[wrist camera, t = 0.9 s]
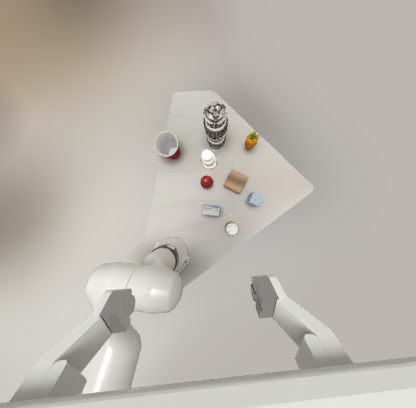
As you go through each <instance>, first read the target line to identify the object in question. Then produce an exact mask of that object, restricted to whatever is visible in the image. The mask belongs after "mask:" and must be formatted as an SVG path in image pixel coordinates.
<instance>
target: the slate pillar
mask: <svg viewBox="0 0 416 408" xmlns="http://www.w3.org/2000/svg"><path fill="white" fill-rule="evenodd" d="M263 198H264V197H263V196H261V195H259V194H257V193H255V192H253V193H251V194H249V196H248V198H247V200H246V202H245V203H247V204H249V205H251V206H253V207H259V206H260V204H261V202H262V200H263Z"/></svg>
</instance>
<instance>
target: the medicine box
mask: <svg viewBox="0 0 416 408" xmlns="http://www.w3.org/2000/svg"><path fill="white" fill-rule="evenodd" d="M202 215H209V216H219V215H220V206H207V205H202Z"/></svg>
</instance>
